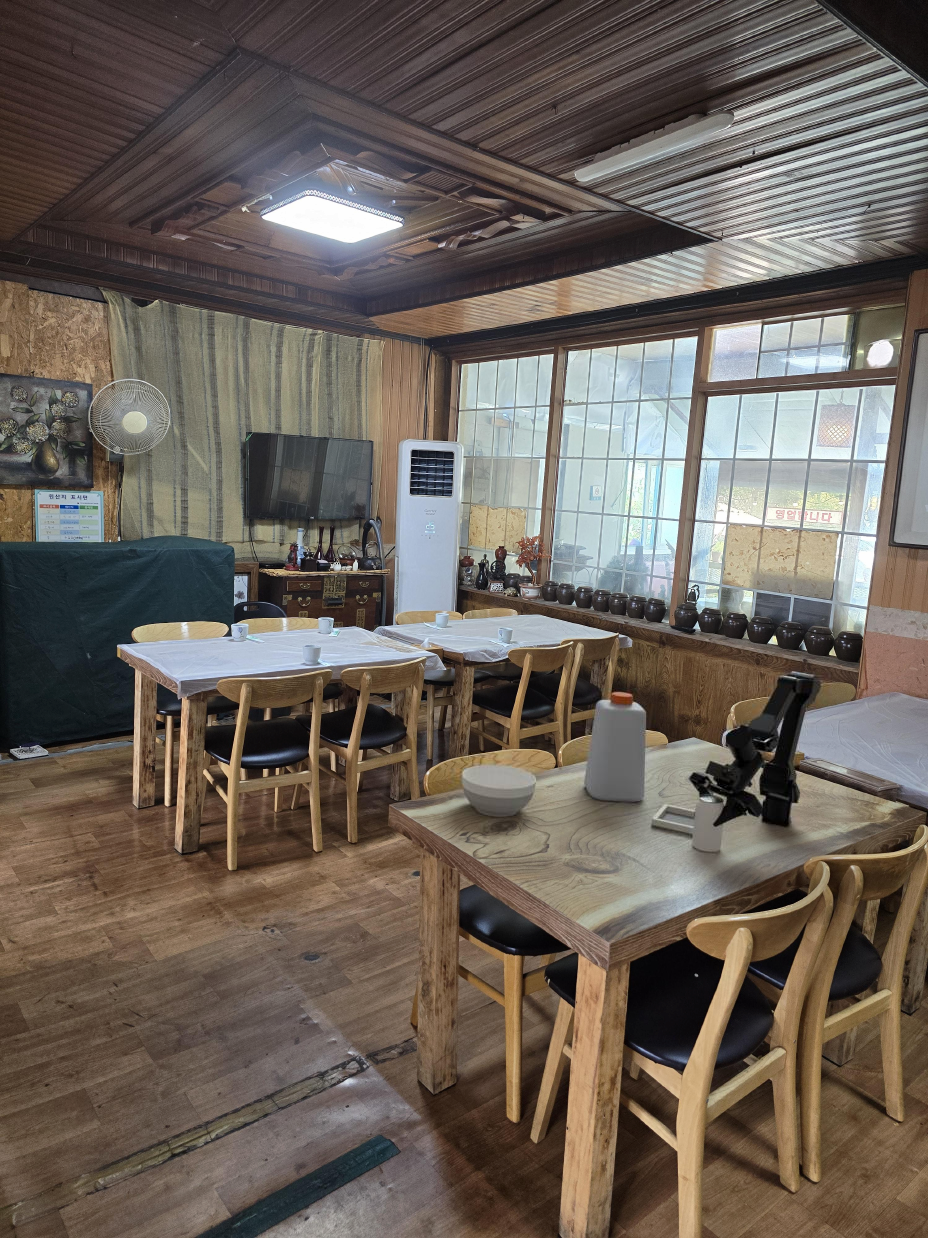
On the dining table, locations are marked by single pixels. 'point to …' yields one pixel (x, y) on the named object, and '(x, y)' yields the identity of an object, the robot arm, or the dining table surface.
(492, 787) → the bowl
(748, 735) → the robot arm
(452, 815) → the dining table surface
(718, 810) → the can
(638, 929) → the dining table surface
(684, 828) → the square tray
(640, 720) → the plastic bottle
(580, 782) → the dining table surface
